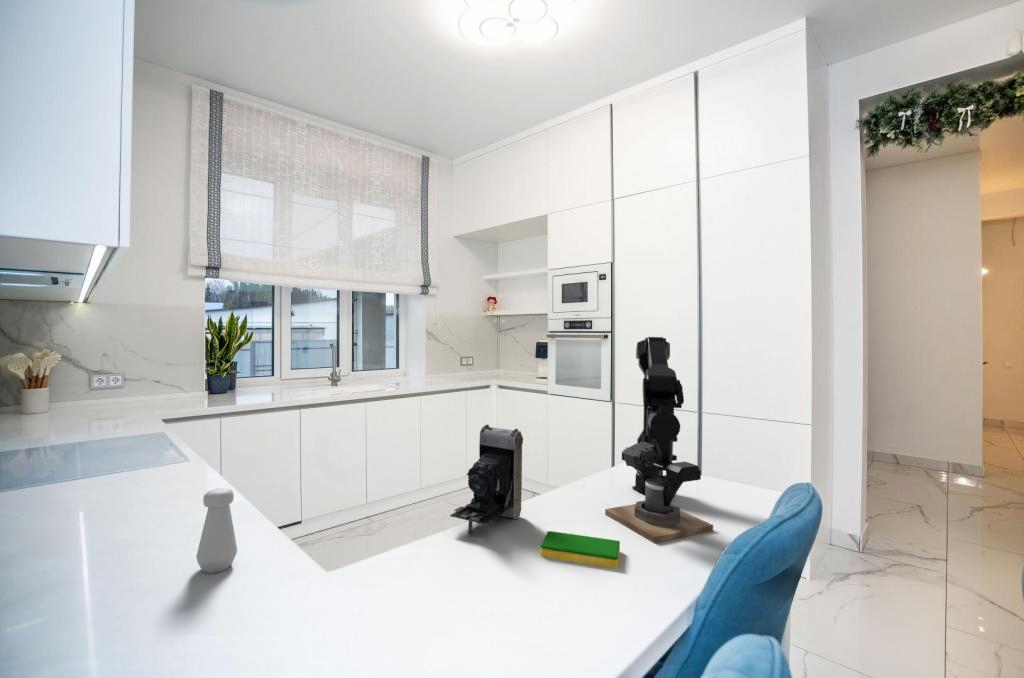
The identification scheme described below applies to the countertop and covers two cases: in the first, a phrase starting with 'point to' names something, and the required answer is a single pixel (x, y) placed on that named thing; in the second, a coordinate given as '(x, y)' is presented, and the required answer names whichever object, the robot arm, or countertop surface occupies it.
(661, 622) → the countertop surface
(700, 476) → the robot arm
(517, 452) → the vintage camera
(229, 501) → the salt shaker
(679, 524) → the mount
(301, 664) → the countertop surface
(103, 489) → the countertop surface
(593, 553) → the dish sponge
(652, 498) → the lens
